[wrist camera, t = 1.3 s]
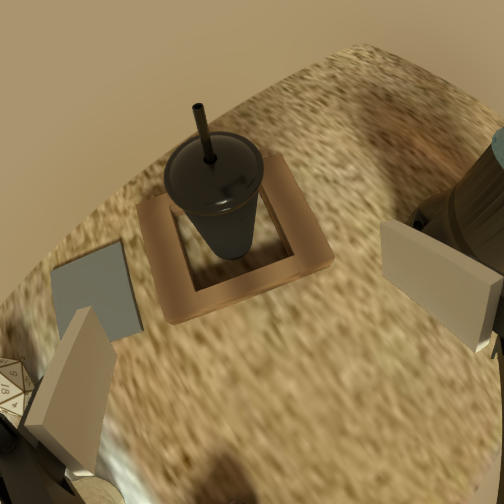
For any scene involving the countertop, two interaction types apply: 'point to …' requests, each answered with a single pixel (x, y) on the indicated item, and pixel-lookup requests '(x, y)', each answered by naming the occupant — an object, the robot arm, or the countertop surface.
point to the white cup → (97, 491)
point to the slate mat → (97, 292)
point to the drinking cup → (217, 186)
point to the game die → (14, 386)
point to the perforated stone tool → (236, 502)
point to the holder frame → (244, 286)
